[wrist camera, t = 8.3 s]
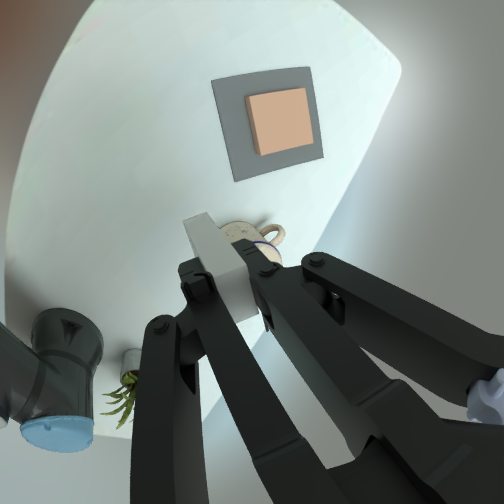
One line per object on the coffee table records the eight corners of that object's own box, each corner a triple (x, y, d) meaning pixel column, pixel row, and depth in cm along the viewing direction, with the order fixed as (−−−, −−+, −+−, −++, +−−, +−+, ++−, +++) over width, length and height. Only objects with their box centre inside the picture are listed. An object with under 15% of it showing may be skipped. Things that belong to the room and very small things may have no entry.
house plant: (84, 342, 46) (79, 412, 33) (143, 319, 49) (152, 391, 35) (120, 382, 54) (126, 445, 40) (174, 364, 56) (190, 428, 43)
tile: (261, 155, 40) (313, 143, 42) (249, 96, 35) (304, 87, 37) (255, 153, 42) (306, 141, 44) (244, 97, 37) (298, 88, 39)
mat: (234, 181, 43) (235, 182, 43) (211, 80, 35) (211, 80, 34) (322, 157, 46) (323, 157, 46) (308, 66, 38) (309, 66, 38)
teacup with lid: (231, 277, 51) (254, 318, 42) (197, 245, 46) (214, 285, 36) (282, 232, 51) (316, 265, 41) (253, 196, 46) (286, 223, 36)
